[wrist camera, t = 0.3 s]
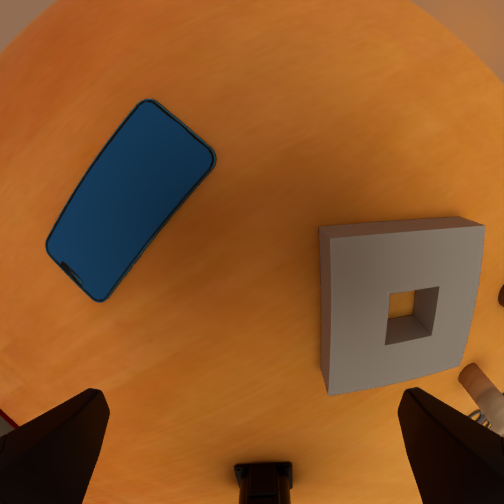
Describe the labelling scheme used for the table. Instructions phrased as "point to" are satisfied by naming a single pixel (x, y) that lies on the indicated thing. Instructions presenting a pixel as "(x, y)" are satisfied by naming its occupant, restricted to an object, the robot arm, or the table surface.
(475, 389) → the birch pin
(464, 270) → the socket block
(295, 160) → the table surface
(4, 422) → the grey red flat slab
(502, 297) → the wenge pin
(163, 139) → the smartphone
